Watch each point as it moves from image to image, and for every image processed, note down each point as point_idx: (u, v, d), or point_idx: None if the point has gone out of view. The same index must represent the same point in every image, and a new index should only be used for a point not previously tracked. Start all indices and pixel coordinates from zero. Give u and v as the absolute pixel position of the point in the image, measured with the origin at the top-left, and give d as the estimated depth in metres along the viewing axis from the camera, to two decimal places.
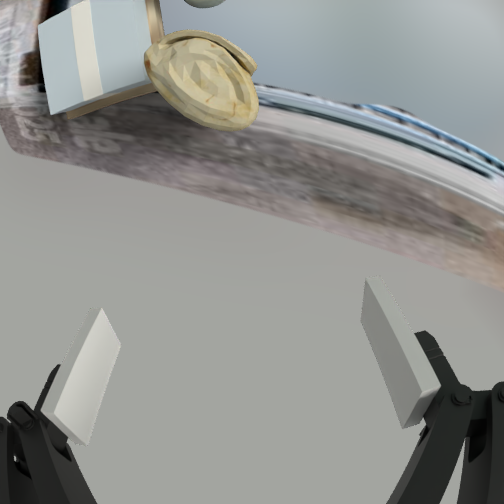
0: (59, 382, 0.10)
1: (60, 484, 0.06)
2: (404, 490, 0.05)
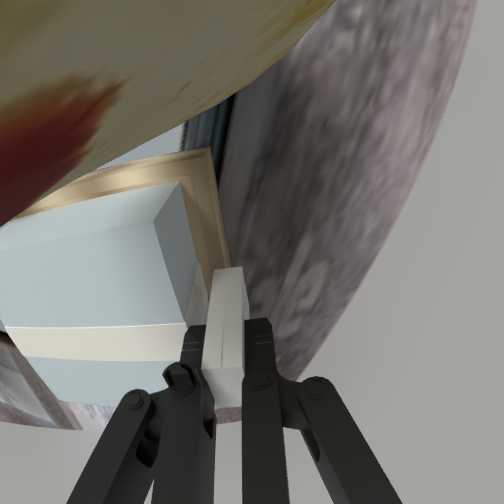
0: (214, 337, 0.12)
1: (192, 472, 0.07)
2: (243, 482, 0.07)
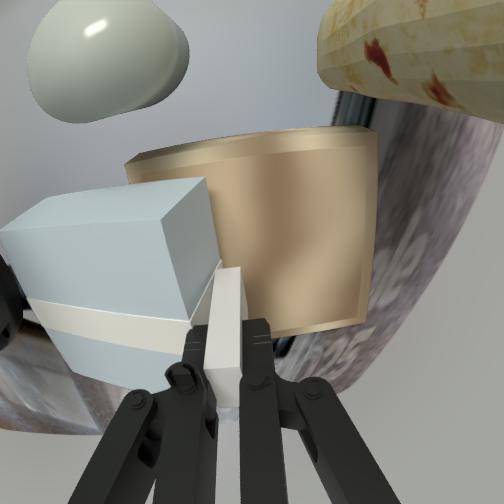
0: (216, 337, 0.12)
1: (194, 472, 0.07)
2: (241, 483, 0.07)
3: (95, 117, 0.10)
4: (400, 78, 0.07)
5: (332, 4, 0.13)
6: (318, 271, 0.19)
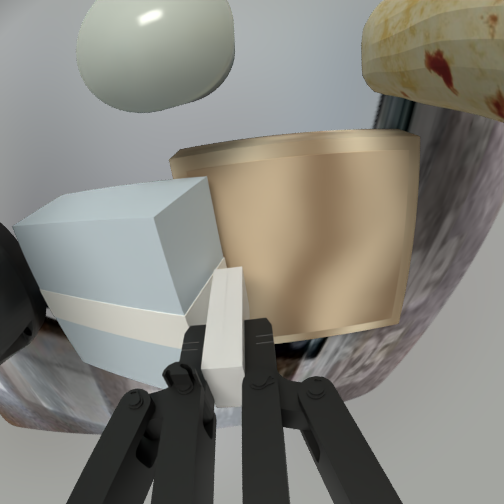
0: (214, 337, 0.12)
1: (192, 472, 0.07)
2: (243, 482, 0.07)
3: (161, 106, 0.10)
4: (463, 90, 0.07)
5: (376, 9, 0.12)
6: (358, 272, 0.19)
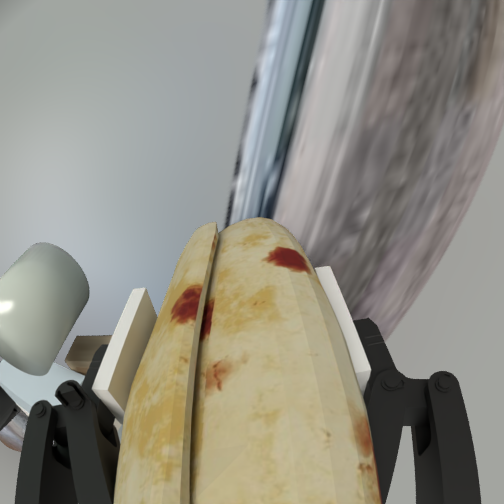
0: (110, 359, 0.11)
1: (102, 473, 0.07)
2: None
3: (39, 374, 0.15)
4: None
5: (185, 247, 0.17)
6: None
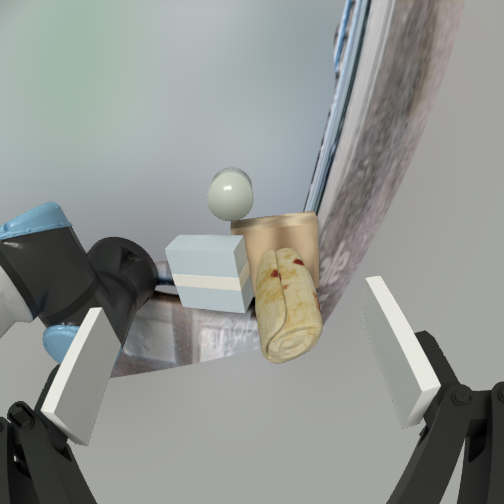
0: (59, 382, 0.10)
1: (60, 484, 0.06)
2: (404, 490, 0.05)
3: (248, 211, 0.43)
4: None
5: (262, 258, 0.50)
6: None
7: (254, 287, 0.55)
